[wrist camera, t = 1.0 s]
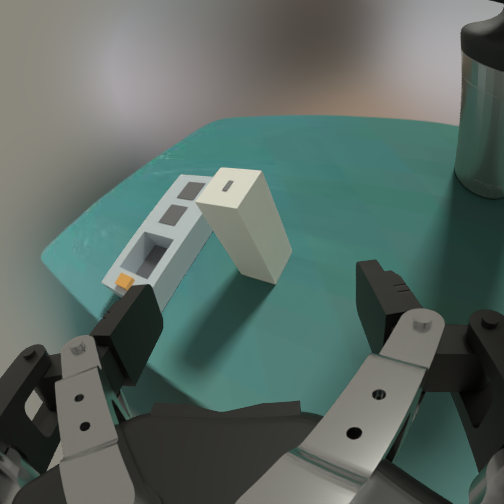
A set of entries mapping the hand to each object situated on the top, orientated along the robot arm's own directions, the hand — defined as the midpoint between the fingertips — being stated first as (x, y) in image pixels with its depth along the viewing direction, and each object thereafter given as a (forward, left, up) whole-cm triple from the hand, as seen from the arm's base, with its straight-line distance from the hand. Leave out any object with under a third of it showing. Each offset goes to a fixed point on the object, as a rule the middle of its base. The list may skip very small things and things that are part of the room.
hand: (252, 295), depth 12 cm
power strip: (-10, -25, -18) cm, 32 cm away
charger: (-11, -11, -18) cm, 24 cm away
